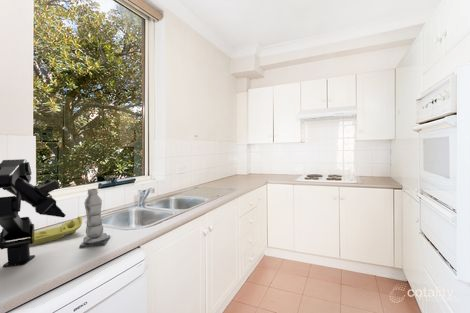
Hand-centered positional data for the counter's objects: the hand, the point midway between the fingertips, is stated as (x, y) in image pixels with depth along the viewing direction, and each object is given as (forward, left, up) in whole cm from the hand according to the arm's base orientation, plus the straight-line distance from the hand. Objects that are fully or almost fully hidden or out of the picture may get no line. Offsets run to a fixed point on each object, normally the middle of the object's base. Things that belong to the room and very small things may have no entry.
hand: (62, 213), depth 96 cm
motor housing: (+2, -11, -14) cm, 17 cm away
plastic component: (+14, +9, -14) cm, 21 cm away
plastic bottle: (+2, -11, -11) cm, 16 cm away
